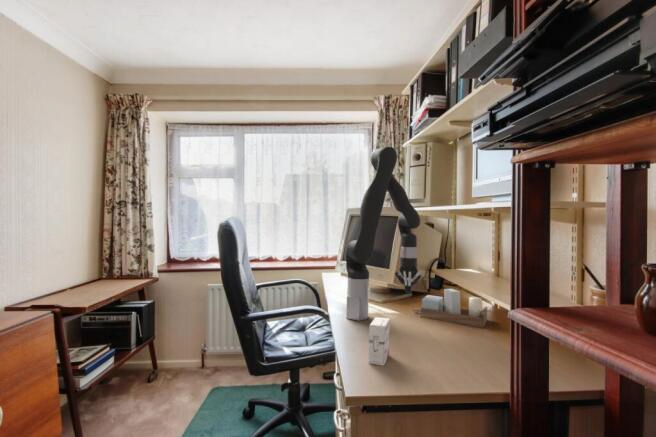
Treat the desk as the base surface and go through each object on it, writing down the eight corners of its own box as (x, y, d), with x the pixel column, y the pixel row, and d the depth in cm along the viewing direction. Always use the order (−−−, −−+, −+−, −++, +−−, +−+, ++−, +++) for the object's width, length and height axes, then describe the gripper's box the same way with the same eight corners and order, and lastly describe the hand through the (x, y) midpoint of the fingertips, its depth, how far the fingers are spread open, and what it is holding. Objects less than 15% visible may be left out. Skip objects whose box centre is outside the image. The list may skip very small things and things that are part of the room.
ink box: (374, 352, 106) (375, 316, 106) (389, 354, 105) (390, 318, 104) (367, 363, 98) (368, 324, 98) (384, 366, 96) (385, 326, 96)
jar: (480, 324, 134) (481, 300, 134) (467, 322, 136) (468, 298, 136) (482, 321, 138) (482, 297, 138) (469, 319, 141) (470, 296, 141)
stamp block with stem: (437, 317, 141) (438, 301, 140) (410, 313, 147) (410, 297, 147) (442, 312, 149) (443, 297, 148) (416, 308, 155) (416, 293, 155)
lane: (483, 329, 130) (484, 314, 130) (420, 317, 143) (421, 303, 143) (487, 321, 140) (487, 307, 140) (428, 310, 153) (428, 298, 153)
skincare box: (460, 320, 139) (461, 291, 139) (451, 320, 138) (452, 292, 138) (452, 315, 145) (453, 288, 145) (443, 316, 144) (444, 288, 144)
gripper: (392, 256, 152) (391, 293, 153) (420, 258, 145) (420, 297, 146) (397, 254, 159) (397, 290, 159) (425, 256, 152) (424, 293, 152)
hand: (408, 293), depth 152 cm, fingers closed
